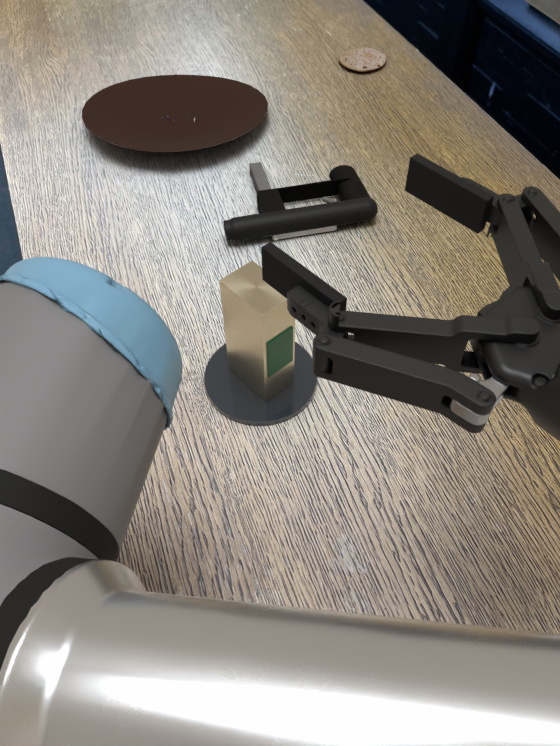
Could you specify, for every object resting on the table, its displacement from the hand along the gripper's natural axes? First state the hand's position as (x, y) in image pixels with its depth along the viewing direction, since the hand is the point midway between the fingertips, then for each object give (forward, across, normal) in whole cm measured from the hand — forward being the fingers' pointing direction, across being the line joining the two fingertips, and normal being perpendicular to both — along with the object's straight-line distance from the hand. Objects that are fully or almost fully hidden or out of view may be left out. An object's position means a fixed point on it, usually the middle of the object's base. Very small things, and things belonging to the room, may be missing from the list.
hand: (342, 213), depth 43 cm
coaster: (+10, 0, -27) cm, 29 cm away
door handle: (+29, +22, -28) cm, 46 cm away
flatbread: (+49, +58, -27) cm, 80 cm away
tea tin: (+10, 0, -27) cm, 28 cm away
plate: (+56, +24, -28) cm, 67 cm away
